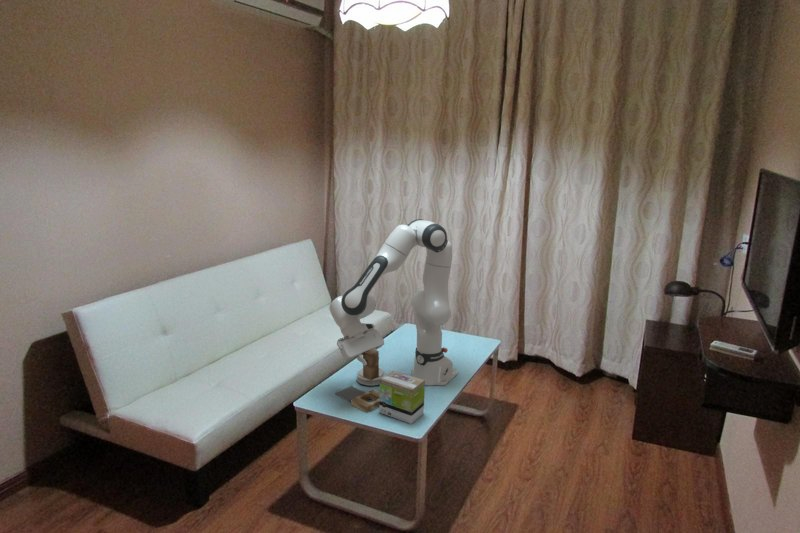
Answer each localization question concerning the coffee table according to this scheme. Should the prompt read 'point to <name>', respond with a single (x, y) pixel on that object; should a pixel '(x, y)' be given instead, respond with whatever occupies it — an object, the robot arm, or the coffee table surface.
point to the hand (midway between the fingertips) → (372, 362)
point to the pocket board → (363, 404)
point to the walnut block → (371, 364)
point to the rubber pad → (349, 393)
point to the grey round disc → (367, 381)
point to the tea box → (402, 396)
